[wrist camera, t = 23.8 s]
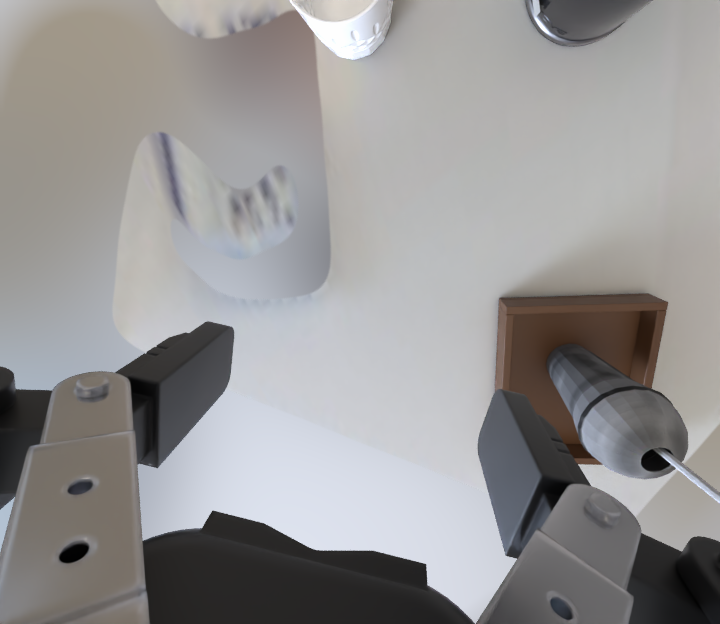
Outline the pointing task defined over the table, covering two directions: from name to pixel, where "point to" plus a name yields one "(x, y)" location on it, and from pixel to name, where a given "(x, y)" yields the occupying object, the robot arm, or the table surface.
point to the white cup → (347, 24)
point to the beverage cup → (621, 417)
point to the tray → (582, 327)
